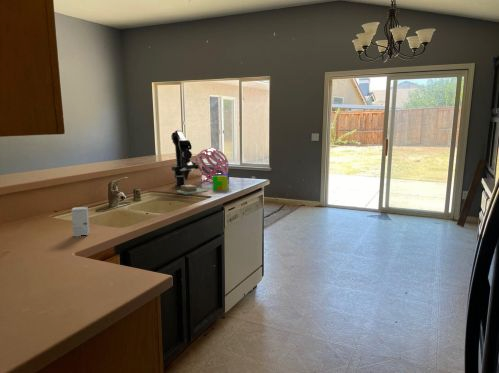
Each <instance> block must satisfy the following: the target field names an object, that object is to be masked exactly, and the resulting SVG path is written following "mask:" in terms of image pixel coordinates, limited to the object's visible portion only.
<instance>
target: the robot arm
mask: <svg viewBox="0 0 499 373" xmlns="http://www.w3.org/2000/svg"><path fill="white" fill-rule="evenodd" d="M171 140H172V144H173V145H174V147H175V149H174V150H175V162H176V165H174V166H172V167H171V171H174V172H173V178H175V179H176V181H175V182H176V183H175V184H174V186H178V187H181V186H182V185H187V184H186V183H185V180H188V177H189V174H190V172H191V171H192V170H199V166H200V165H199V166H198V165H196V162H195V161H191V158H192V157H193V153H192V152H191V150H192V148H193V146H192V143H191V142H190V140H189V139H188V138H186V136H185V135H184V132H183V130H181V129H180V130H179V129H177V130H175V131H174V132H173V133H171Z"/></svg>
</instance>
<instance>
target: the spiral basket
mask: <svg viewBox="0 0 499 373" xmlns="http://www.w3.org/2000/svg"><path fill="white" fill-rule="evenodd" d="M209 152H210V153H209ZM203 156H204V157H205V160H206V162H208V164H209V165H211V167H213V169H211V168H210V167H209V166H208V165H207V164H206V162H205V161H204V159H203ZM216 156H217V157H216ZM198 158H199V162H200V163H201V165H202V167H203V168H204V169H205V170H206V171H207V172H209V174H208V173H206V172H205V171H204V170H203V169H202V167H201V166H200V164H199V163H198ZM212 160H213V161H214V162H215V163H216V164H215V163H214V162H213V161H212ZM194 162H196V165H198V166H199V169H198V171H199V172H200V173H201V174H202V175H204V176H205V177H206V178H205V179H202V178H201V179H200V181H201V182H203V183H205V182H207V183H209V184H213V176H214V175H215V174H220V173H218V172H217V171H222V174H229V173H228V172H229V165H230V164H229V160H228V158H227V156H226V155H225V154H224V153H223V152H222V151H220V150H218V149H216V148H208V149H203V150H201V151H200V152H199V153H198V154H196V155H195V158H194ZM224 165H225V167H224ZM210 180H211V181H210Z"/></svg>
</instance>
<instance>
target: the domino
mask: <svg viewBox="0 0 499 373" xmlns="http://www.w3.org/2000/svg"><path fill="white" fill-rule="evenodd" d="M197 188H198V187H197V185H193V184H186V185H182V186H180V190H183V191H187V192H190V191H197Z"/></svg>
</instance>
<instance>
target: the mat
mask: <svg viewBox="0 0 499 373" xmlns="http://www.w3.org/2000/svg"><path fill="white" fill-rule="evenodd" d="M175 192H177V193H180V194H182V195H185V196H187V195H192V193H193V194H197V193H198V194H199V193H206V192H209V189H204V188H201V187H197V191H190V192H187V191H183V190H181V189H179V190H176V191H175Z"/></svg>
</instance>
